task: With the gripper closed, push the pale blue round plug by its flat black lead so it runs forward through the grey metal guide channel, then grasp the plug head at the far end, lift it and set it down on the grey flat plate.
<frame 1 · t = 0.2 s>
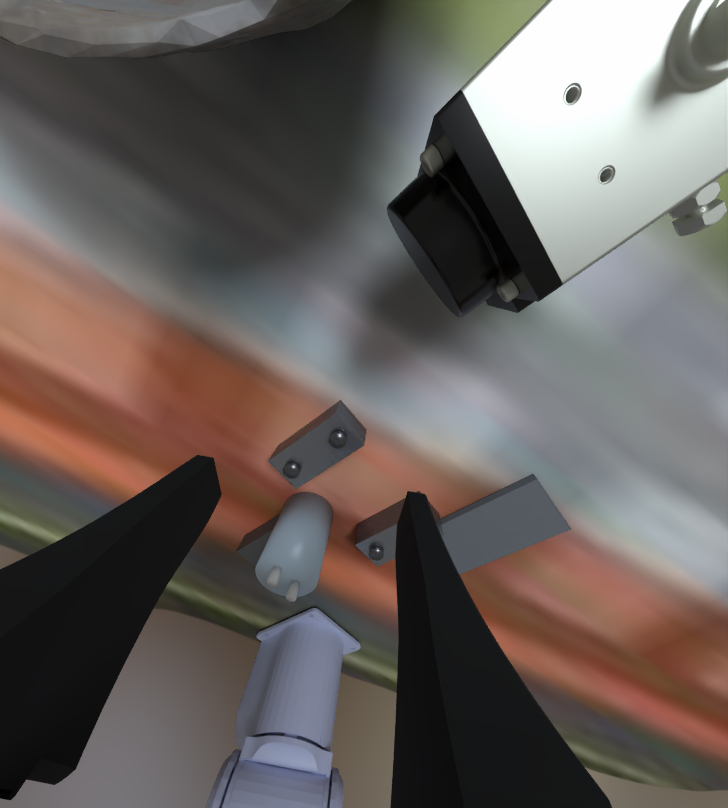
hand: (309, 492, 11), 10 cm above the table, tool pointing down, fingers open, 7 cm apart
plug: (308, 511, 25), on the table
channel: (361, 480, 23), on the table
grey flat plate: (487, 527, 24), on the table
pneumatic valve: (503, 203, 15), on the table
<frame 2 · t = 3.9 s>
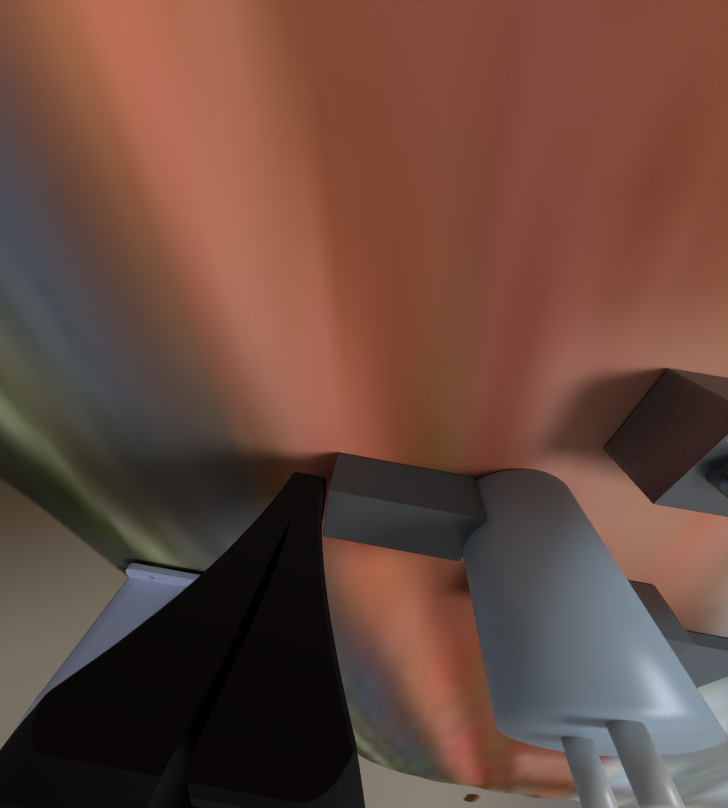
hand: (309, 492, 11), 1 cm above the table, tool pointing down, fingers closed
plug: (511, 508, 11), on the table, touching gripper
channel: (633, 528, 11), on the table
grey flat plate: (620, 646, 17), on the table
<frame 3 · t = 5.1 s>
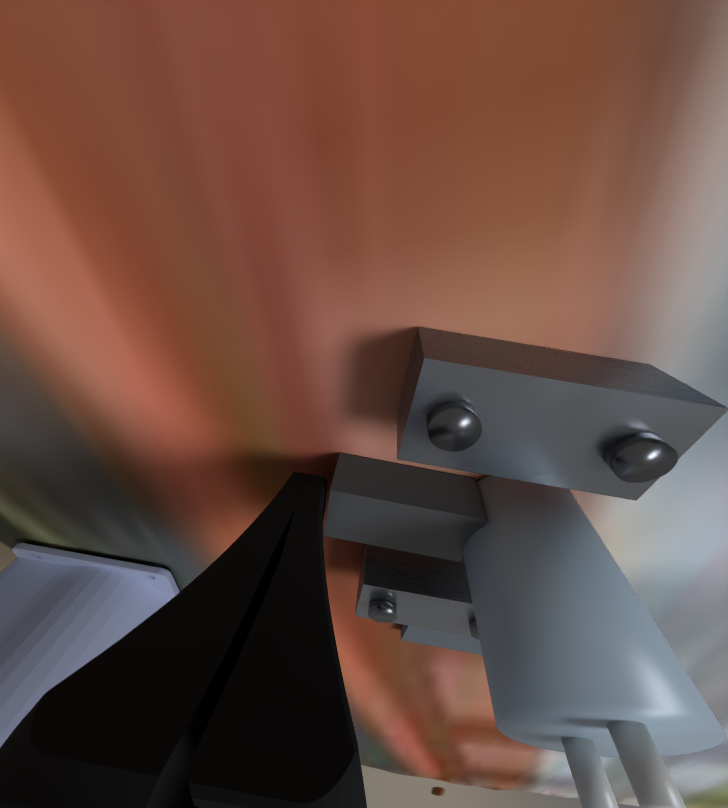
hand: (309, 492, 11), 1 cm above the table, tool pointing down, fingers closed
plug: (511, 509, 11), on the table, touching gripper
channel: (460, 497, 11), on the table
grey flat plate: (503, 624, 17), on the table
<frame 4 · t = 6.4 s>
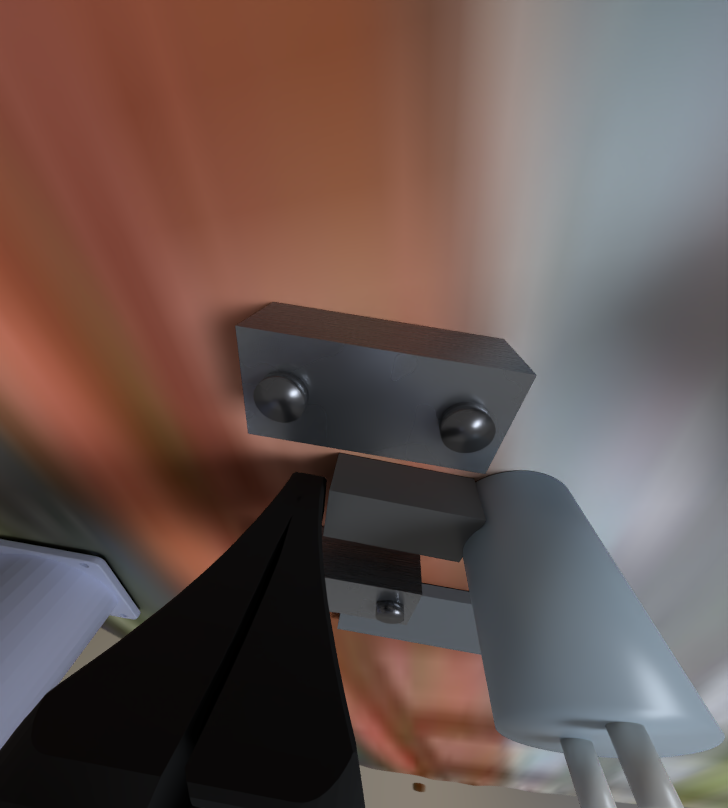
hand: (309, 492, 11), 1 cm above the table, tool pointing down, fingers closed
plug: (510, 510, 11), on the table, touching gripper
channel: (359, 480, 11), on the table
grey flat plate: (435, 612, 17), on the table
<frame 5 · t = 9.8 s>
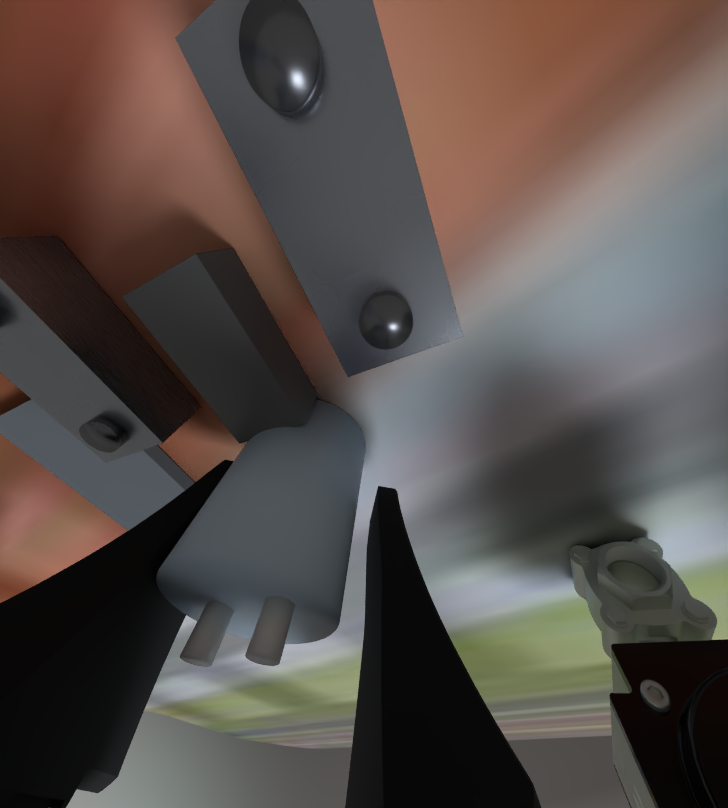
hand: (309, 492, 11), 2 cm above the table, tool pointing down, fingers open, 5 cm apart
plug: (312, 443, 12), on the table, touching gripper
channel: (214, 294, 9), on the table
grey flat plate: (139, 482, 15), on the table
pneumatic valve: (595, 556, 14), on the table
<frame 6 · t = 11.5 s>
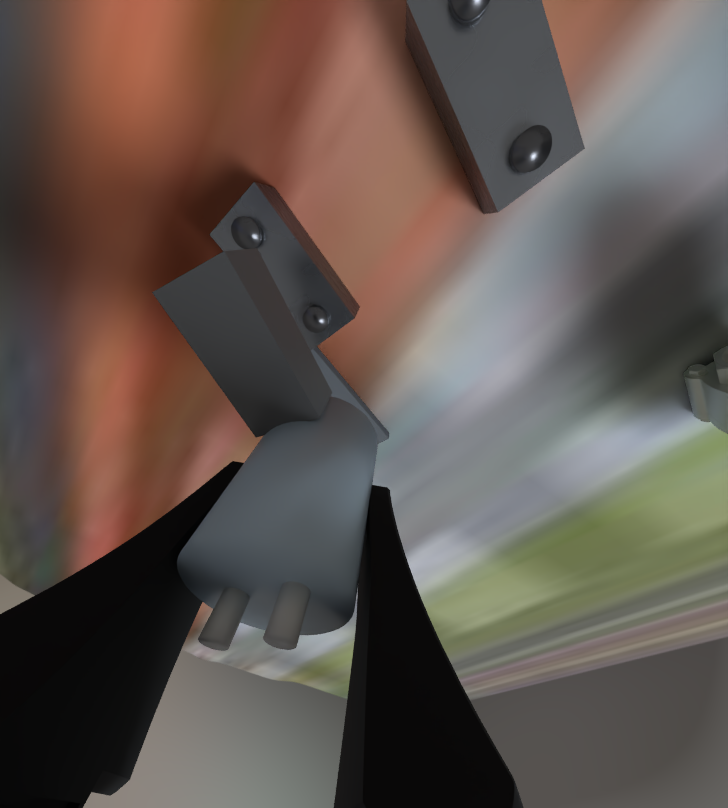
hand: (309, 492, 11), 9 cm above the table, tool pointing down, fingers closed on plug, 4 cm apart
plug: (325, 440, 12), point 7 cm above the table, touching gripper
channel: (378, 200, 13), on the table
grey flat plate: (305, 396, 19), on the table
pneumatic valve: (709, 380, 16), on the table
when the fingers open (4 cm above the table, at t = 13.1 s): plug stays where it is, resting on channel, grey flat plate.
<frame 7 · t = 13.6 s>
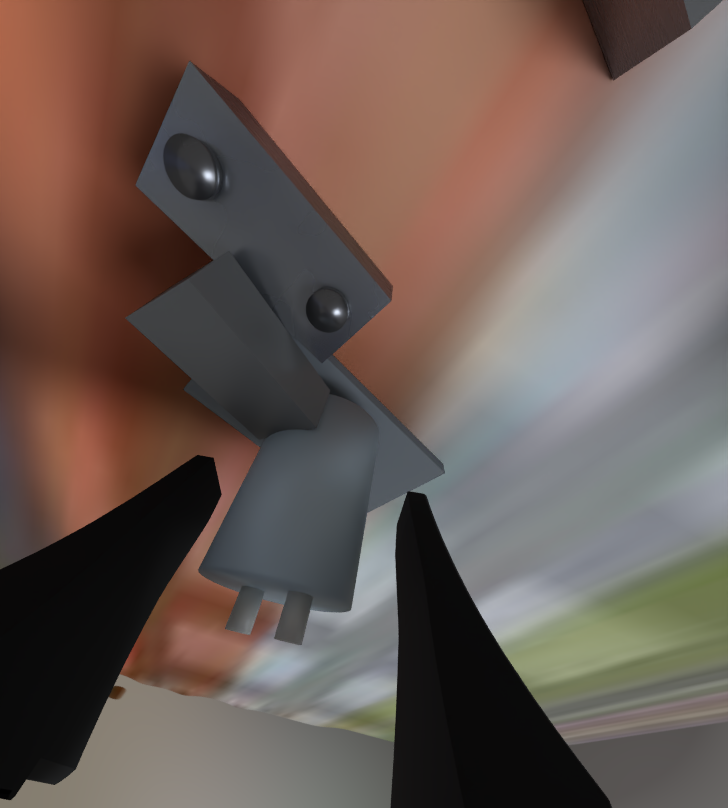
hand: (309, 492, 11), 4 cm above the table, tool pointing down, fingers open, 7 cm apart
plug: (328, 429, 12), point 1 cm above the table, tilted 14°, touching channel, grey flat plate
channel: (415, 90, 7), on the table
grey flat plate: (322, 425, 14), on the table
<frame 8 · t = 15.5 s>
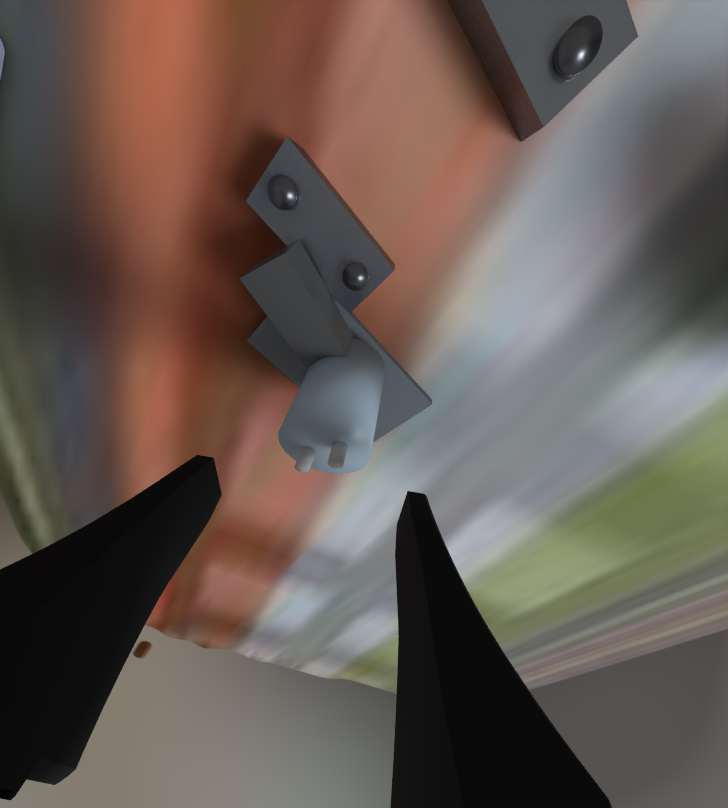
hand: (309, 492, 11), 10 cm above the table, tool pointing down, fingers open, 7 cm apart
plug: (349, 368, 17), point 1 cm above the table, tilted 14°, touching channel, grey flat plate
channel: (408, 145, 13), on the table
grey flat plate: (343, 369, 19), on the table
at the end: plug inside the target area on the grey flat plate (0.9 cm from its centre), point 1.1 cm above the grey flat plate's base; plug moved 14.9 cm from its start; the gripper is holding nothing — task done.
